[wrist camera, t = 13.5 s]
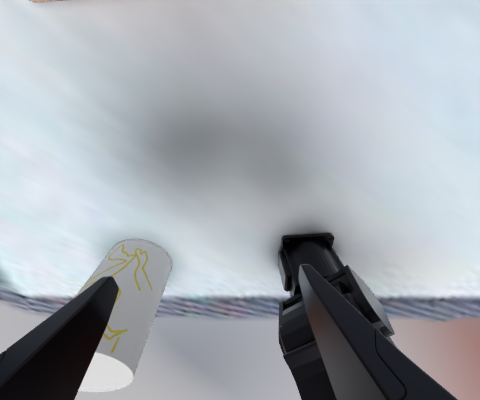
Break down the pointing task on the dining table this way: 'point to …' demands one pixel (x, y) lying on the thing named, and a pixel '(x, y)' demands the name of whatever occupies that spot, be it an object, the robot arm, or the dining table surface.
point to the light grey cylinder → (127, 311)
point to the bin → (43, 0)
